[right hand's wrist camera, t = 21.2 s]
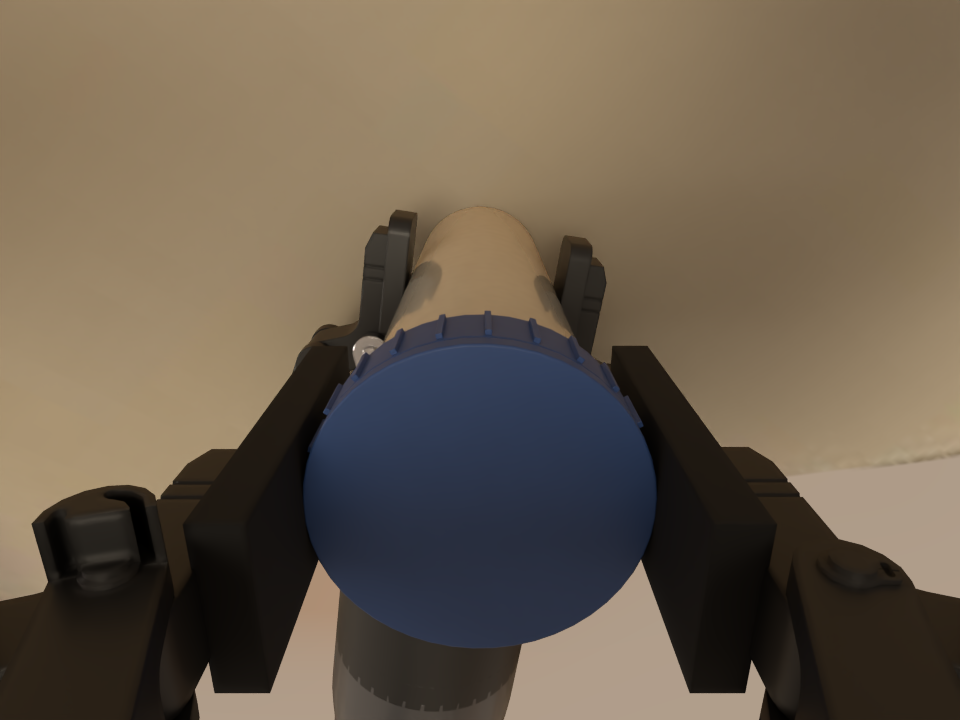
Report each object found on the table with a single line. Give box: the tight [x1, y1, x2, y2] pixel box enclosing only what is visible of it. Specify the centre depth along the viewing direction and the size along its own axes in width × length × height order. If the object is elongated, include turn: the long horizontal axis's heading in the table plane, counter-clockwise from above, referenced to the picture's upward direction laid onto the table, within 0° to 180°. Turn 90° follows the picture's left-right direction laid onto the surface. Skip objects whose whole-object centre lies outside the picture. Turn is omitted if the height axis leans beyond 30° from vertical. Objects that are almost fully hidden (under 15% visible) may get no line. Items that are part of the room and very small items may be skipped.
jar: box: [382, 207, 575, 344], centre depth 19 cm, size 5×5×18 cm
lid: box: [303, 311, 657, 648], centre depth 11 cm, size 6×6×2 cm
